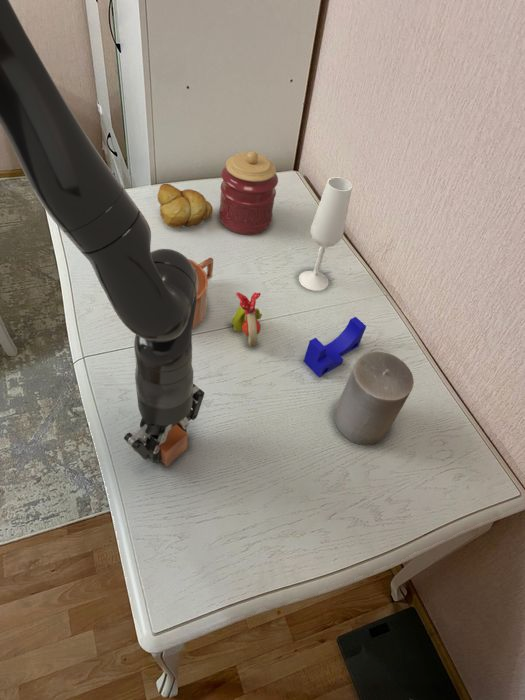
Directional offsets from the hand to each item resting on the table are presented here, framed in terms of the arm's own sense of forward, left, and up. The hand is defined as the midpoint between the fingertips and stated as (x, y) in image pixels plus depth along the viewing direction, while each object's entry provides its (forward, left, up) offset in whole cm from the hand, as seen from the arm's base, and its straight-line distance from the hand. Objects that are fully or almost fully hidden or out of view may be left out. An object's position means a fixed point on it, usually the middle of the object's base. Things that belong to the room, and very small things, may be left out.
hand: (167, 447), depth 80 cm
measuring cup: (+24, +23, 0) cm, 33 cm away
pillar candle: (+27, -20, -1) cm, 34 cm away
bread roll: (+45, +42, -1) cm, 62 cm away
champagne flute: (+51, +8, -1) cm, 52 cm away
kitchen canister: (+56, +33, -1) cm, 65 cm away
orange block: (0, 0, 0) cm, 0 cm away
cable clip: (+36, -8, -1) cm, 37 cm away
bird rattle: (+28, +7, -1) cm, 29 cm away
